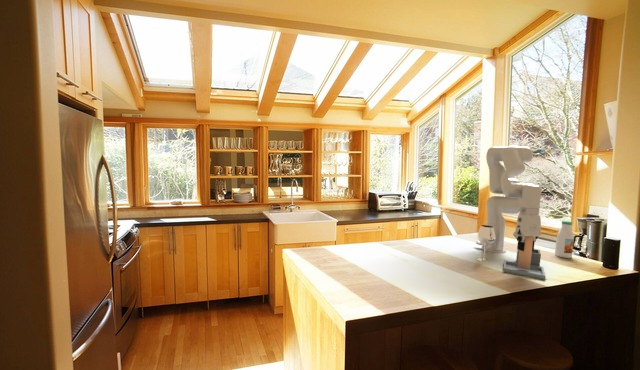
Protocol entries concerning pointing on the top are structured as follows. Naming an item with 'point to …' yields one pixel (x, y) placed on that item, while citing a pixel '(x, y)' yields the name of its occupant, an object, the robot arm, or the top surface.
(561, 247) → the milk bottle
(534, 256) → the grey open box
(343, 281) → the top surface
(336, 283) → the top surface
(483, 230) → the wineglass
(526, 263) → the tan tall block
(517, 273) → the tray
